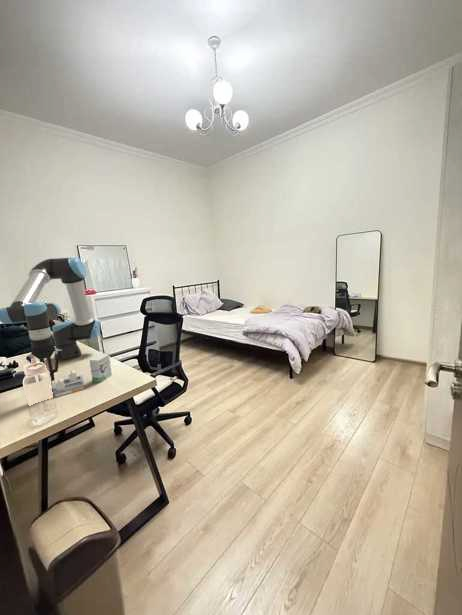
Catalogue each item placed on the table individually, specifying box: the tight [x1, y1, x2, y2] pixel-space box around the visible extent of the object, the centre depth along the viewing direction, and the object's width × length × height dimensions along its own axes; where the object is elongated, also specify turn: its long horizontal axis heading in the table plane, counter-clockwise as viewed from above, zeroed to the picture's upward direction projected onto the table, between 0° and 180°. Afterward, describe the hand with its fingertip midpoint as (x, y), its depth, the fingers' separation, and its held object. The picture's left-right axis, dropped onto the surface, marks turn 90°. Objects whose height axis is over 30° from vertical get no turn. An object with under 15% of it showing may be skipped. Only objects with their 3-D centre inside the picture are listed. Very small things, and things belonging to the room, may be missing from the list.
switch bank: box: [52, 375, 86, 398], centre depth 120 cm, size 13×12×2 cm
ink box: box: [89, 353, 113, 383], centre depth 127 cm, size 9×5×12 cm, turn 168°
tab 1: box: [54, 377, 65, 391], centre depth 115 cm, size 4×3×5 cm
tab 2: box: [67, 369, 77, 382], centre depth 123 cm, size 4×3×5 cm
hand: (51, 388), depth 113 cm, fingers closed
